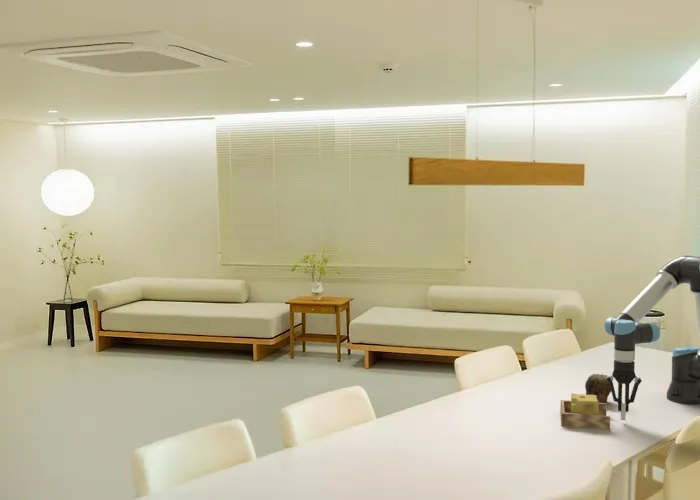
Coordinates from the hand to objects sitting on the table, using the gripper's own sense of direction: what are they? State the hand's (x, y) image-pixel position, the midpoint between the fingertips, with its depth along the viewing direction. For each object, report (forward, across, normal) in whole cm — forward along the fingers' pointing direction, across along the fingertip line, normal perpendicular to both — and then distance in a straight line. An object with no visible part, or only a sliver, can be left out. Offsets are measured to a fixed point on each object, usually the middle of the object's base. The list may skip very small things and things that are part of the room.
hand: (622, 419), depth 275 cm
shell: (+2, +7, -29) cm, 30 cm away
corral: (+2, +14, 0) cm, 14 cm away
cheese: (+2, +15, +2) cm, 15 cm away
